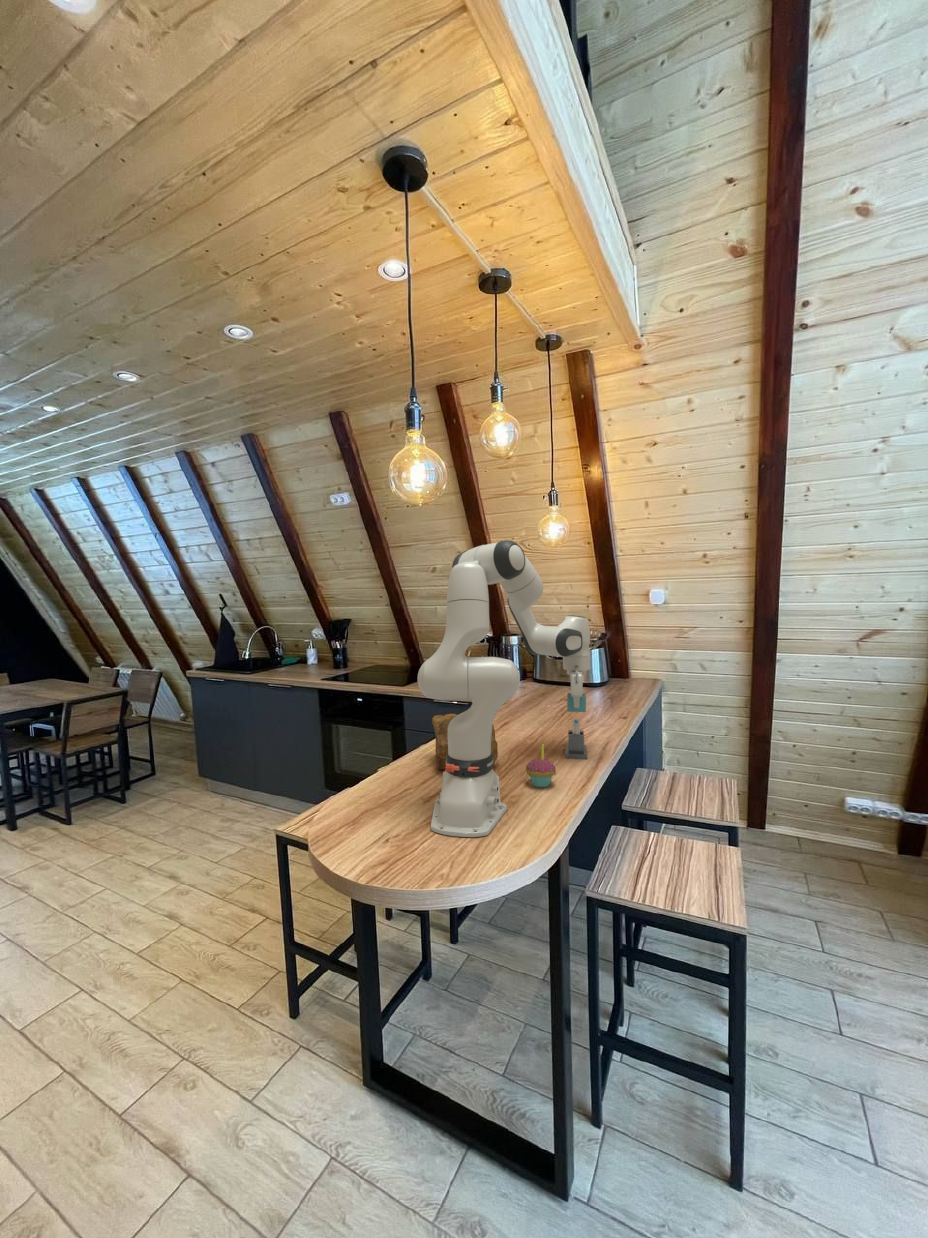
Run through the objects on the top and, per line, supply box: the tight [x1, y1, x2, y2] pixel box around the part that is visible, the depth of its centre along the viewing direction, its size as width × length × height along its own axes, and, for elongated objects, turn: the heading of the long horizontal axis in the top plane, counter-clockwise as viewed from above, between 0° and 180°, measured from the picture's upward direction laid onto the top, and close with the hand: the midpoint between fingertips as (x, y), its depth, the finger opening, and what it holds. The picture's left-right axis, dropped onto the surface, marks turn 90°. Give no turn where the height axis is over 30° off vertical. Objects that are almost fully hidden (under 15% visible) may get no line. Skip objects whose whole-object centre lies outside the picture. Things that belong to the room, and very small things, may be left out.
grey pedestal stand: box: [564, 718, 588, 760], centre depth 167 cm, size 13×7×12 cm, turn 168°
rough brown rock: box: [431, 713, 499, 770], centre depth 155 cm, size 23×17×15 cm
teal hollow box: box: [566, 692, 587, 713], centre depth 164 cm, size 6×6×5 cm
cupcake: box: [525, 740, 557, 788], centre depth 140 cm, size 9×8×12 cm
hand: (576, 704), depth 164 cm, fingers closed on teal hollow box, 6 cm apart
